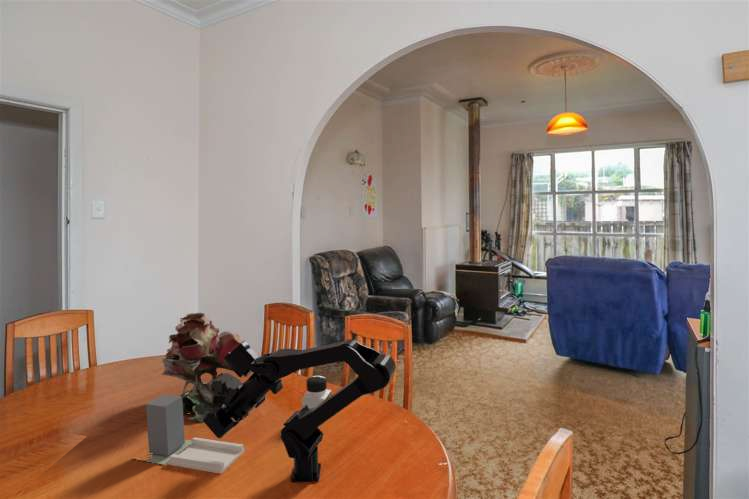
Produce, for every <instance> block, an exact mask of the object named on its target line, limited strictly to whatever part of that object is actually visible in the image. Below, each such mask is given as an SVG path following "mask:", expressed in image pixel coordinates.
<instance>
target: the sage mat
mask: <svg viewBox="0 0 749 499" xmlns="http://www.w3.org/2000/svg"><path fill="white" fill-rule="evenodd" d="M189 445H190V446H191V445H192V439H191V440H189V439H185V444H183V445H182V446H181V447H179V448H178V449H177V450H175V451H174V452H173V453H171V454H170V455H169V456H167V455H161V454H155V453H153V454H148V455H147V456H149V455H152V458H151V456H150V457H147V458H149V459H147V460H143V459H142V461H148V462H152V463H151V464H154V463H157V464H156V465H159V464H161V465H160V466H166V465H167V464H169V462H170V456H171V455H172V454H176V455H179V454H180V452H181V453H182V452H183V451H184V449H185V450H186V449H187V448H188V447H189ZM146 452H147V453H148V451H146ZM135 459H136V458H135ZM142 461H141V462H142ZM148 462H147V463H148ZM166 463H167V464H166Z"/></svg>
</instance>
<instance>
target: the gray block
mask: <svg viewBox="0 0 749 499" xmlns="http://www.w3.org/2000/svg"><path fill="white" fill-rule="evenodd" d="M145 410H146V425H147V427H146V428H147V439H148V440H147V441H148V447H149V453H155V454H161V455H167V456H169V455H170V454H171V453H173V452H174V451H175V450H177V449H178V448H179V447H181V446H182V445H183V444H185V440H186V438H185V424H184V423H185V422H184V413H183V403H182V397H181V395H172V394H162V395H160V396H158V397H156V398H154V399H153V400H151V401H149V402H147V403H146V404H145Z"/></svg>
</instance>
